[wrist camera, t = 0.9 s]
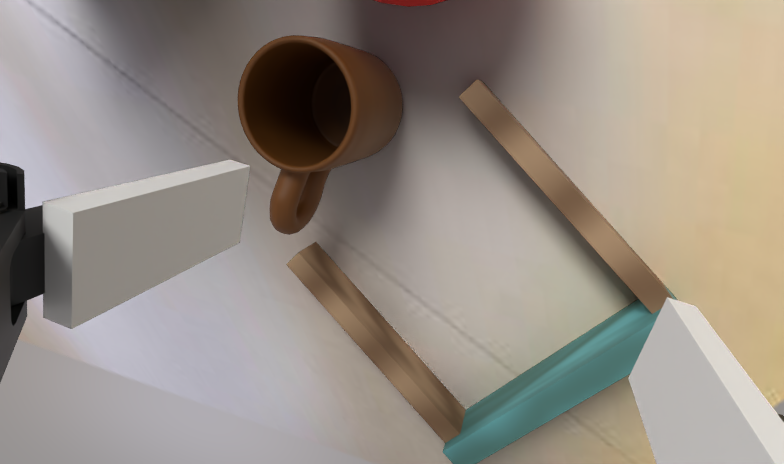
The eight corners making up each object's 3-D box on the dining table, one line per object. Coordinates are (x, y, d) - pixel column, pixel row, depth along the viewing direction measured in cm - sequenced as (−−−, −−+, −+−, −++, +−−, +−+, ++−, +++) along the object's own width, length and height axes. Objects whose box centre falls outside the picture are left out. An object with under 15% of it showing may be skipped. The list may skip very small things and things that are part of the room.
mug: (376, 226, 37) (325, 264, 29) (288, 195, 39) (214, 222, 30) (418, 65, 33) (375, 52, 25) (319, 38, 35) (245, 16, 26)
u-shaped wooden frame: (304, 253, 40) (279, 268, 36) (482, 81, 32) (474, 78, 29) (468, 437, 39) (461, 472, 36) (682, 305, 32) (701, 332, 29)
